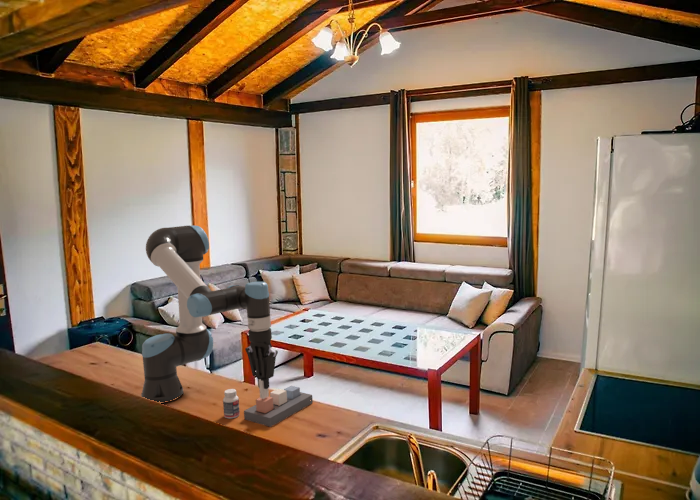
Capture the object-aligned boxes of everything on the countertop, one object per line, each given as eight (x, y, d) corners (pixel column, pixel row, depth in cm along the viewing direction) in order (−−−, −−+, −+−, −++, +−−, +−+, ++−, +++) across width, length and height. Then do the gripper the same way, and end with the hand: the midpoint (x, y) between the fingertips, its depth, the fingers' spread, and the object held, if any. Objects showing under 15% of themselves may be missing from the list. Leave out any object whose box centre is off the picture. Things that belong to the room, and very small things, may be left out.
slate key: (284, 400, 187) (283, 389, 187) (291, 396, 191) (291, 385, 190) (293, 402, 185) (292, 391, 185) (300, 398, 188) (299, 387, 188)
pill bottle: (235, 419, 177) (234, 394, 176) (221, 418, 178) (219, 393, 177) (242, 412, 182) (240, 388, 181) (228, 412, 183) (226, 387, 182)
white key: (270, 403, 181) (270, 392, 181) (278, 399, 185) (277, 388, 184) (279, 405, 179) (278, 394, 179) (287, 401, 182) (286, 390, 182)
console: (244, 419, 177) (243, 410, 176) (287, 396, 195) (286, 389, 194) (270, 426, 170) (270, 418, 170) (312, 402, 188) (312, 394, 188)
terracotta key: (256, 411, 176) (255, 399, 175) (264, 406, 179) (264, 395, 179) (265, 413, 173) (264, 401, 173) (273, 408, 177) (272, 397, 176)
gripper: (237, 329, 174) (242, 397, 176) (266, 333, 166) (271, 404, 169) (253, 324, 180) (258, 390, 182) (282, 328, 173) (286, 396, 175)
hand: (264, 397), depth 176 cm, fingers closed
